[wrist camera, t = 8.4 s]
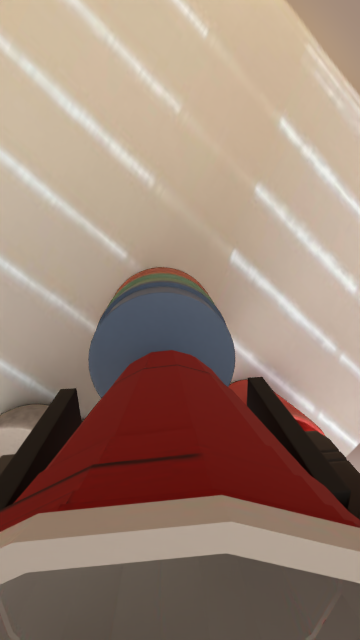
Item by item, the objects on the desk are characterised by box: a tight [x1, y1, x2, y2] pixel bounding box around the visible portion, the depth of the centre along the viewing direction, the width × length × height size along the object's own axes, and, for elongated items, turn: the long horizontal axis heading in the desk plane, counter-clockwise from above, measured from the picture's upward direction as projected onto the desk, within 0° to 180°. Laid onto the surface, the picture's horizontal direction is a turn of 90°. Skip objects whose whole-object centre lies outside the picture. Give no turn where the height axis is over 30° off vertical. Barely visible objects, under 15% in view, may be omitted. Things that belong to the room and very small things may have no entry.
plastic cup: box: [0, 350, 360, 640], centre depth 9 cm, size 11×11×12 cm
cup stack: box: [88, 267, 235, 398], centre depth 24 cm, size 12×12×12 cm
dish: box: [0, 404, 82, 457], centre depth 31 cm, size 14×14×5 cm
